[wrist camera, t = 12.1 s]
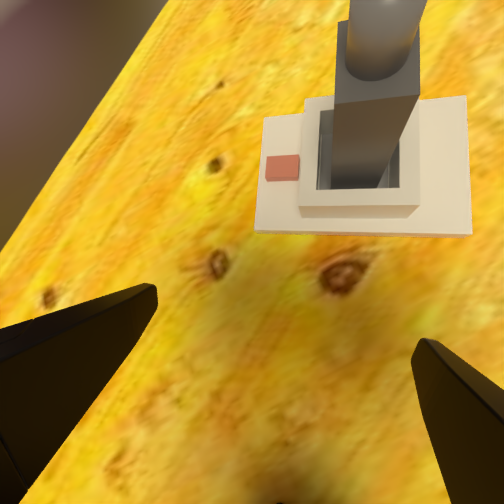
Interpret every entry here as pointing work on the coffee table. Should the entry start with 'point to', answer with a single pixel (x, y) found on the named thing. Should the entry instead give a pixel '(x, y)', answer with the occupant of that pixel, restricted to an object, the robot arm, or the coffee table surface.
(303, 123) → the socket board
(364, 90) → the plug
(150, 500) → the coffee table surface
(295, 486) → the coffee table surface
